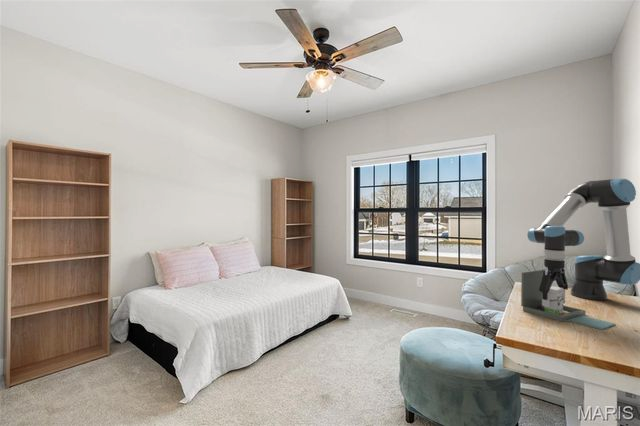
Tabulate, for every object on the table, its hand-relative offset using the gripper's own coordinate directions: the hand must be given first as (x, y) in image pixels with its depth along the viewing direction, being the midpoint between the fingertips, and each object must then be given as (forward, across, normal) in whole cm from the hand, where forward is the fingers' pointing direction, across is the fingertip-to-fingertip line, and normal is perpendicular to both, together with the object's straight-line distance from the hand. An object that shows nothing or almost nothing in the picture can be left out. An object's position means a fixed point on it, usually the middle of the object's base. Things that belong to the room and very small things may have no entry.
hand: (553, 304), depth 138 cm
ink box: (+4, 0, 0) cm, 4 cm away
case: (+4, 0, 0) cm, 4 cm away
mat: (+4, 0, +14) cm, 14 cm away
